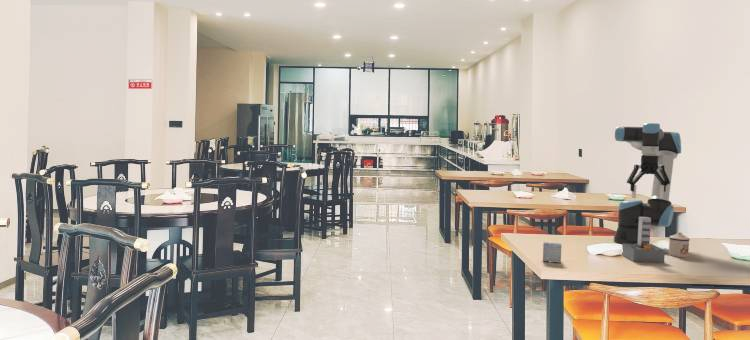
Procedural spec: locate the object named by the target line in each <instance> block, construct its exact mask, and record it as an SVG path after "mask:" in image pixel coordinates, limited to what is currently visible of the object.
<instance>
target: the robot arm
mask: <svg viewBox="0 0 750 340" xmlns="http://www.w3.org/2000/svg"><path fill="white" fill-rule="evenodd" d="M614 140H615V141H617V142H621V143H622V142H625V143H628V144H629V145H630V146H631V147H632V148H634V149H635V150H639V151H641V156H640V158H641V159H640V165H639V164H634V166H633V169H632V171H631V173H630V175H629V176H628V178H627V180H626V184H628V185H630V189H629V190H630V192H631V200H629V199H628V200H621V201H620V202H619V203H618V205H619V206H618V220H617V228H616V231H615V234H614V236H613V242H615V243H619V244H622V245H623V243H629V244H637V242H638V225H639V217H649V218H651V226H653V227H659V228H660V227H663V228H665V227H666V228H668V227H669V226H670V225H672V221H673V218H674V215H675V213H674V211H675V206H674V205H673V204H672V201H670V194H671V185H672V184H671V183H672V175H673V167H674V161H675V159H677V158H678V155H679V154H682V142H681V141H682V140H681V135H680V133H679V132H678V131H677V132H675V131H674V132H673V131H663V130H662V128H661V125H660V123H655V122H654V123H653V122H648V123H646V122H645V123H643V125H642V126H617V127H616V128H615V131H614ZM639 170H640V171H639ZM637 173H638V174H637ZM645 175H653V181H652V182H653V183H652V190H651V197H650V198H648V199H647V202H646V203H644V201H643V200H642V199H636V198H637V183H638V182H639V180H640V179H641V178H642V177H643V176H645Z"/></svg>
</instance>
